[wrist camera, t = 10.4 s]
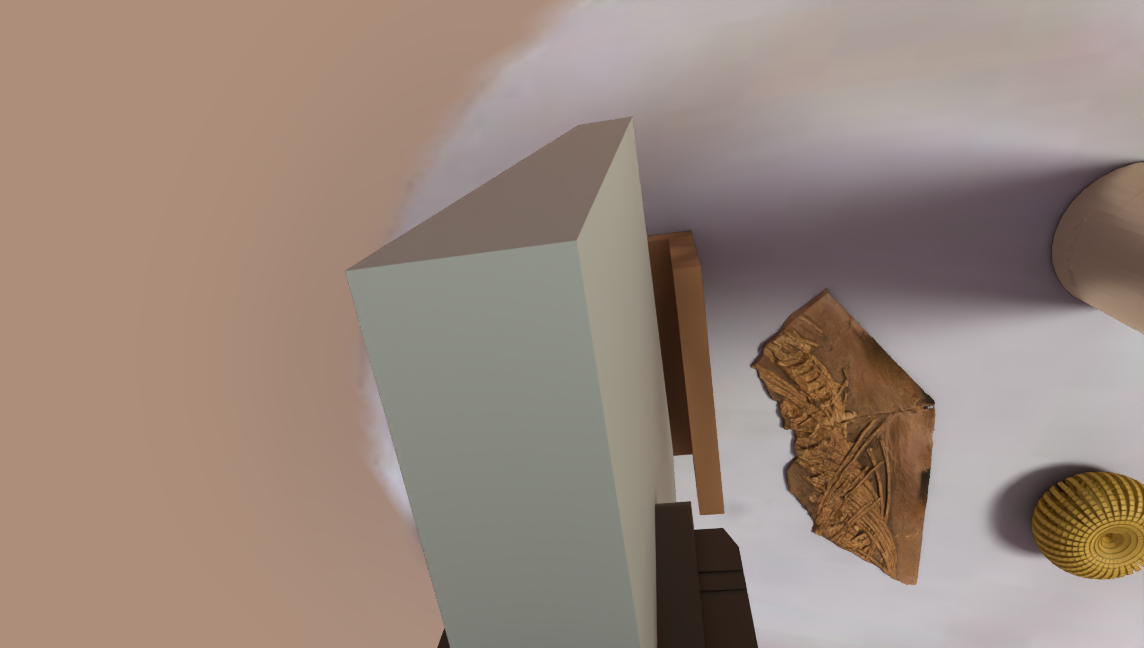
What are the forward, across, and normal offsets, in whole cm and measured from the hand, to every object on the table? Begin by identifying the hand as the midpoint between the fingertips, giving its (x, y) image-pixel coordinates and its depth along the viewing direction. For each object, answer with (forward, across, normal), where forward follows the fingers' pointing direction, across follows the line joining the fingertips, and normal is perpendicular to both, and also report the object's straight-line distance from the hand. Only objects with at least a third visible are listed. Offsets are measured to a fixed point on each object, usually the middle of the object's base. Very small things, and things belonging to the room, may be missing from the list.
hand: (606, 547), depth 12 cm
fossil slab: (+34, -14, +20) cm, 42 cm away
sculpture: (+33, -29, +26) cm, 51 cm away
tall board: (+15, 0, 0) cm, 15 cm away
